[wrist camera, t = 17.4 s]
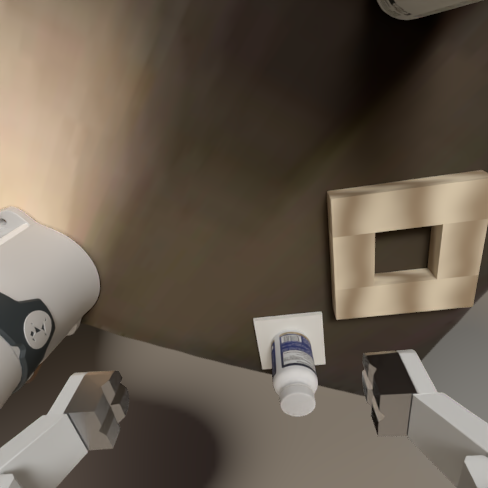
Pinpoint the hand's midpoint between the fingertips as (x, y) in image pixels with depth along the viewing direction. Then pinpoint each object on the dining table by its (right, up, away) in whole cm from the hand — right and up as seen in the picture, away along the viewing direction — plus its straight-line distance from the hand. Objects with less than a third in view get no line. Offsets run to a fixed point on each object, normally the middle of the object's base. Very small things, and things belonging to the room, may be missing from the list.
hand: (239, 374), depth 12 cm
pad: (+7, -9, +37) cm, 38 cm away
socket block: (+18, +4, +29) cm, 35 cm away
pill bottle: (+7, -9, +36) cm, 38 cm away
